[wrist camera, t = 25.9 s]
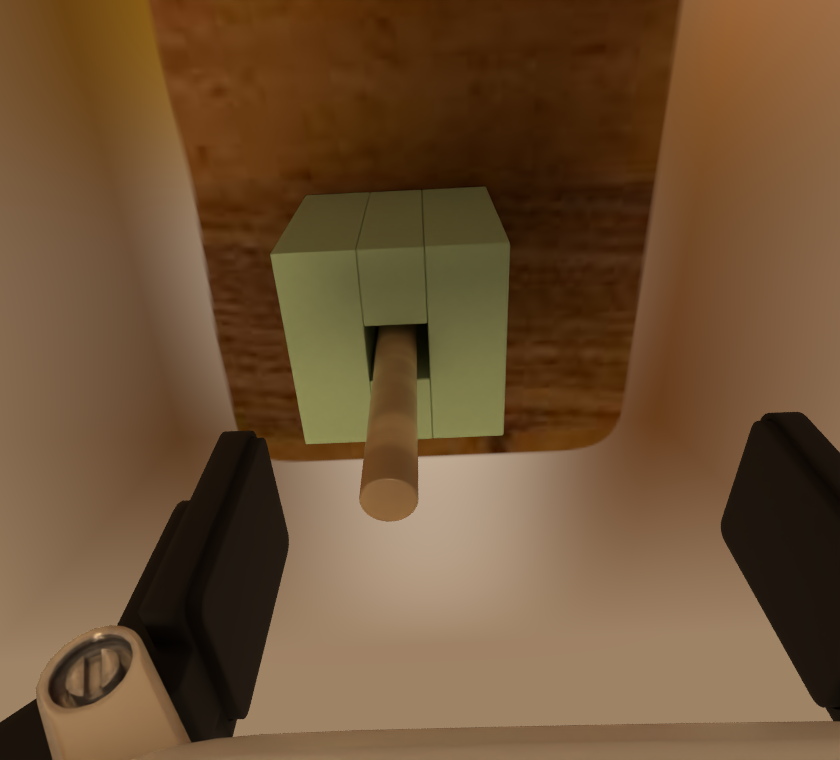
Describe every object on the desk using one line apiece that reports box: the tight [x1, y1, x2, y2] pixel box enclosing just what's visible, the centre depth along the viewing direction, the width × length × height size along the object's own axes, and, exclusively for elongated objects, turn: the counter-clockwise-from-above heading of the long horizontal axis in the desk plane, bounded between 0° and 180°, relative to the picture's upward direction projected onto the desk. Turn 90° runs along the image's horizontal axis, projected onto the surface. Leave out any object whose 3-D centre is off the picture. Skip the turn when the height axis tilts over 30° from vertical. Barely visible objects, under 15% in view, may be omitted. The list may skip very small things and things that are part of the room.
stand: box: [270, 187, 510, 444], centre depth 26 cm, size 8×8×8 cm
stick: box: [359, 324, 418, 521], centre depth 23 cm, size 2×2×16 cm
